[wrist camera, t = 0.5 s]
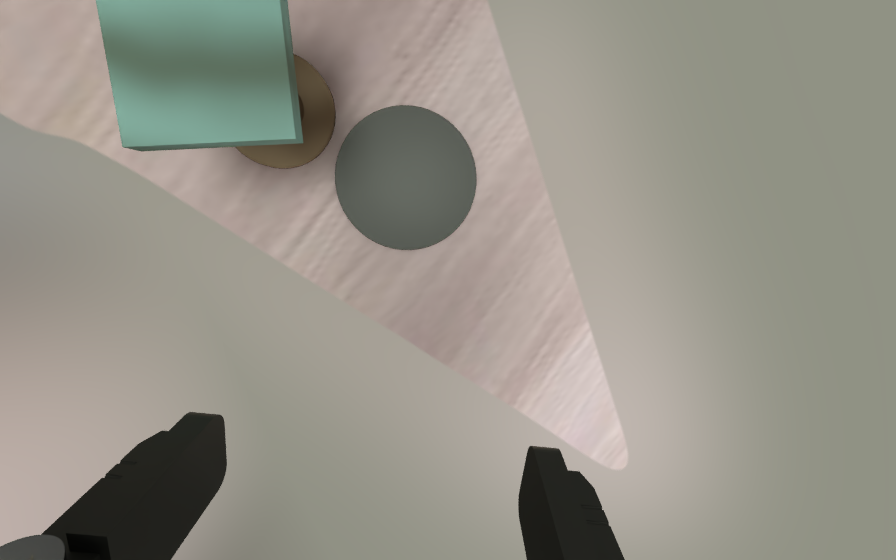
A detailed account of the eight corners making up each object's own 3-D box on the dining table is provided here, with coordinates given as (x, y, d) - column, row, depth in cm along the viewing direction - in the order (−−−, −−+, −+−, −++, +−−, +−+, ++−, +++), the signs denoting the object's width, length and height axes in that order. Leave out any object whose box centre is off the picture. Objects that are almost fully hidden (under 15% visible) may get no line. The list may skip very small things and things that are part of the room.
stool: (216, 56, 33) (87, -43, 20) (329, 51, 34) (274, -47, 21) (232, 171, 35) (122, 147, 22) (340, 165, 35) (295, 138, 22)
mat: (329, 110, 34) (327, 108, 34) (472, 103, 35) (472, 102, 35) (343, 253, 36) (342, 254, 36) (478, 244, 37) (479, 245, 37)
